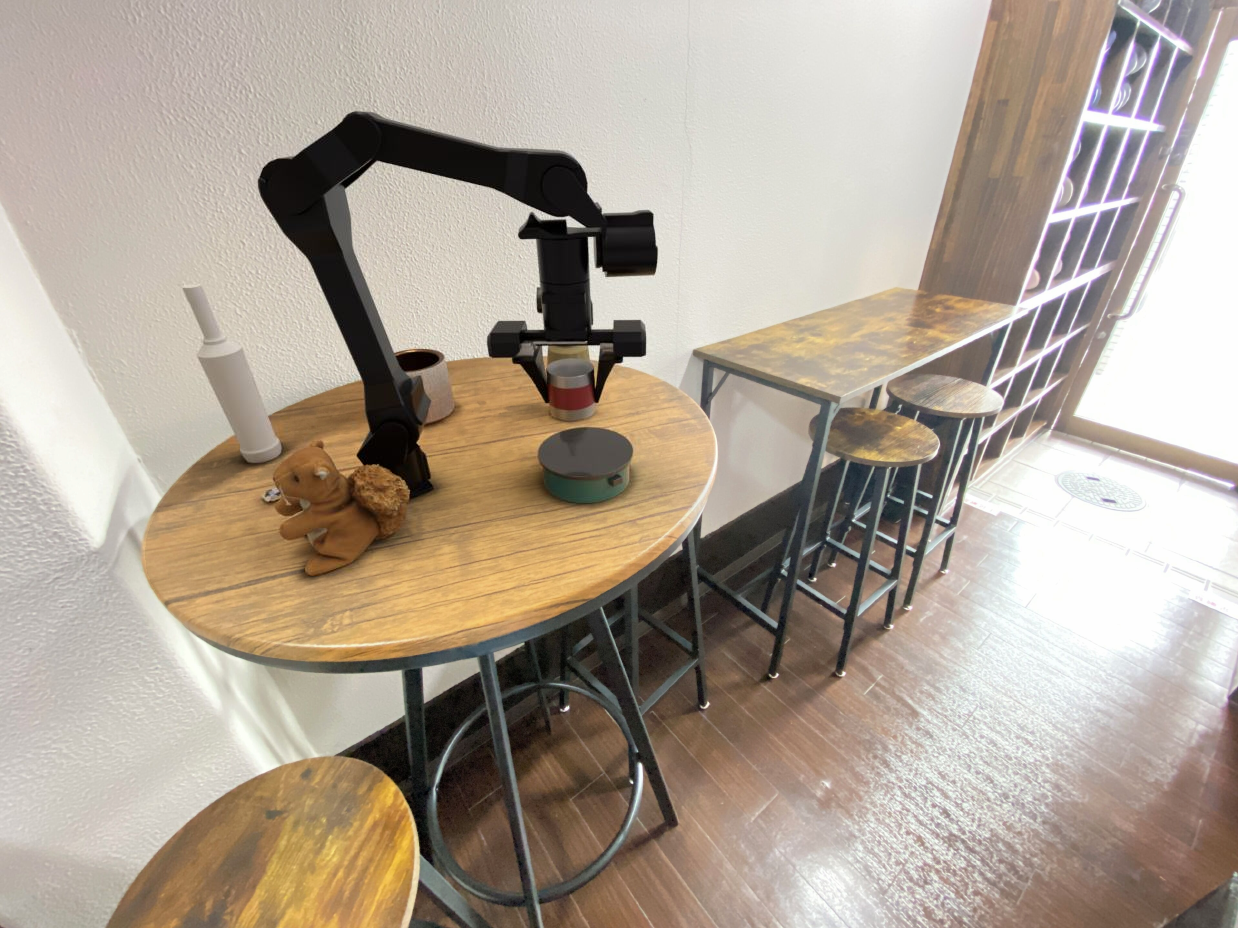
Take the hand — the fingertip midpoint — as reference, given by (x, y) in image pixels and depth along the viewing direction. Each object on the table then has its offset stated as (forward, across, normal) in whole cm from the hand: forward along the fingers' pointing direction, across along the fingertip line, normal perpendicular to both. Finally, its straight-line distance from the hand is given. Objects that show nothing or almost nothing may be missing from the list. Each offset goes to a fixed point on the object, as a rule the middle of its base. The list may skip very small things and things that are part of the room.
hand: (572, 402), depth 69 cm
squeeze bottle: (+12, +2, -20) cm, 23 cm away
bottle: (+12, +48, -6) cm, 49 cm away
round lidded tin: (+12, -1, 0) cm, 12 cm away
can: (+1, 0, 0) cm, 1 cm away
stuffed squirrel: (+12, +25, +14) cm, 31 cm away
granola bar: (+11, +39, +4) cm, 41 cm away
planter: (+12, +28, -19) cm, 36 cm away
